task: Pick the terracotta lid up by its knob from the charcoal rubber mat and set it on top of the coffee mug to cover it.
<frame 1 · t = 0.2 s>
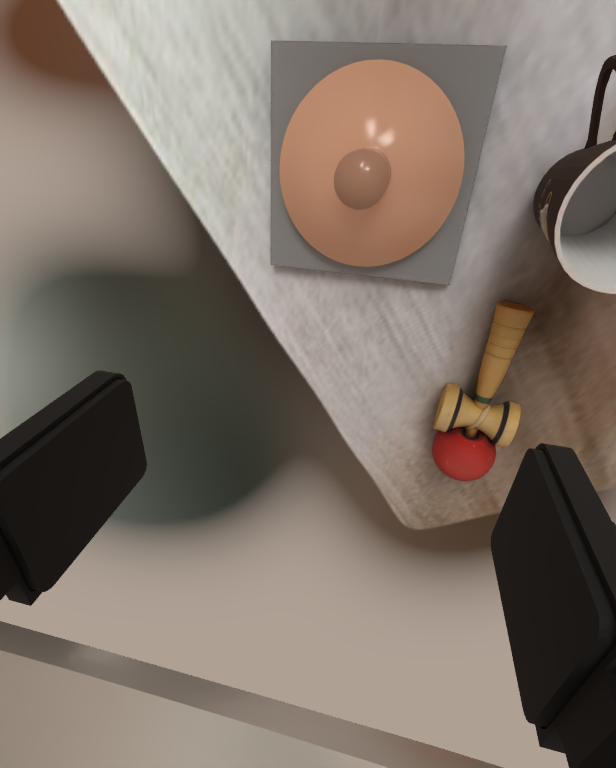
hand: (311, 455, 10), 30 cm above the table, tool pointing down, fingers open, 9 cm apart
mat: (369, 173, 33), on the table
lid: (368, 174, 32), point 1 cm above the table, touching mat
kendama: (477, 383, 41), on the table
coffee mug: (588, 173, 30), on the table
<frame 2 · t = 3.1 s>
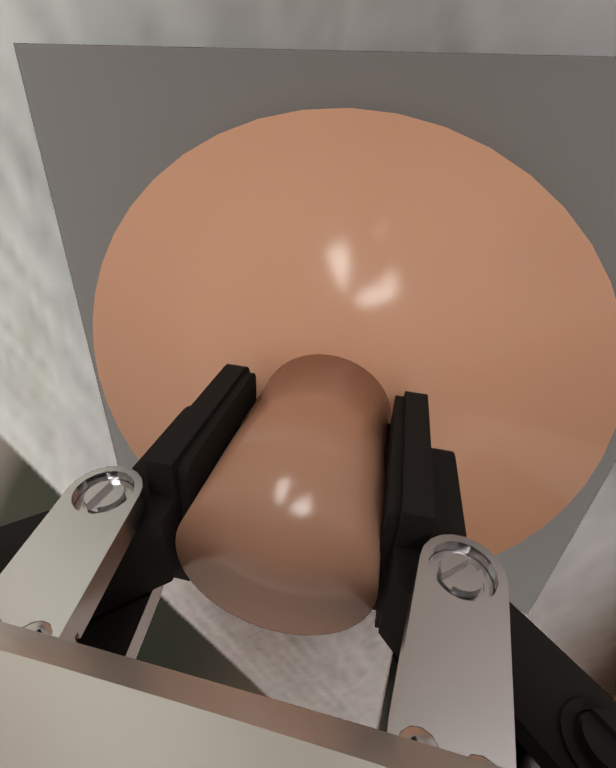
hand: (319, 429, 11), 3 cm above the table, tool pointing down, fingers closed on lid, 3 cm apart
mat: (335, 378, 13), on the table
lid: (331, 394, 12), point 1 cm above the table, touching gripper, mat
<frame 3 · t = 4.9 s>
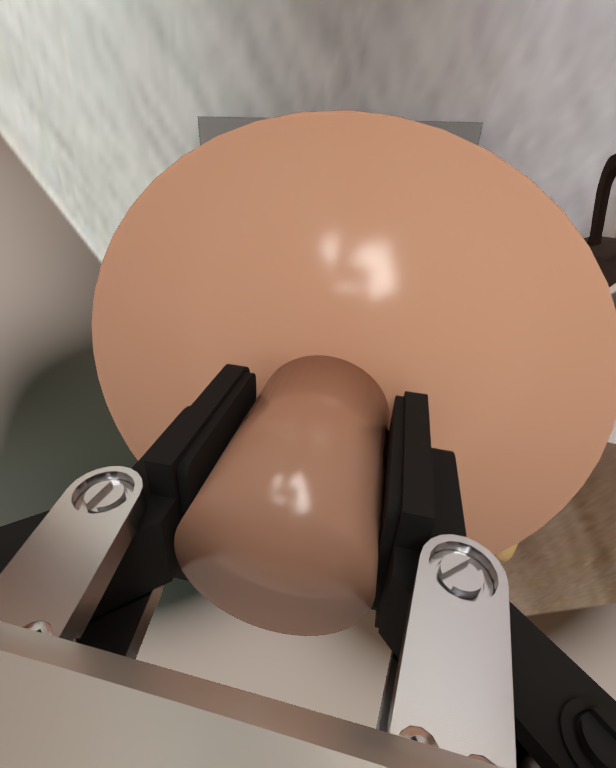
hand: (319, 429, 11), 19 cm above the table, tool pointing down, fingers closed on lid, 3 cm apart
mat: (327, 261, 27), on the table
lid: (329, 395, 12), point 17 cm above the table, touching gripper
coffee mug: (591, 265, 24), on the table
when the fingers open (13 cm above the table, at t = 7.0 s): lid drops 1 cm, resting on coffee mug.
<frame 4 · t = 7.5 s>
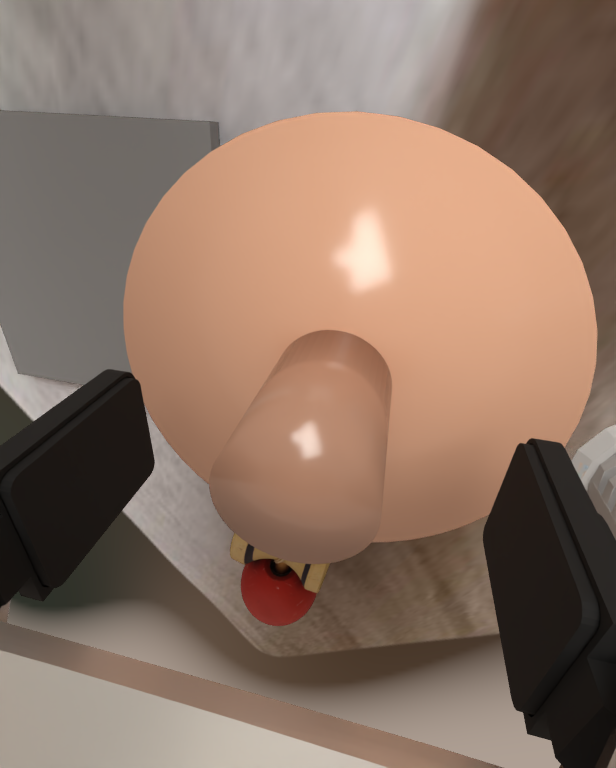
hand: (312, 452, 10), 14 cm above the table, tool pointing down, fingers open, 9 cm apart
mat: (103, 271, 25), on the table
lid: (337, 369, 13), point 10 cm above the table, touching coffee mug
kendama: (298, 497, 31), on the table
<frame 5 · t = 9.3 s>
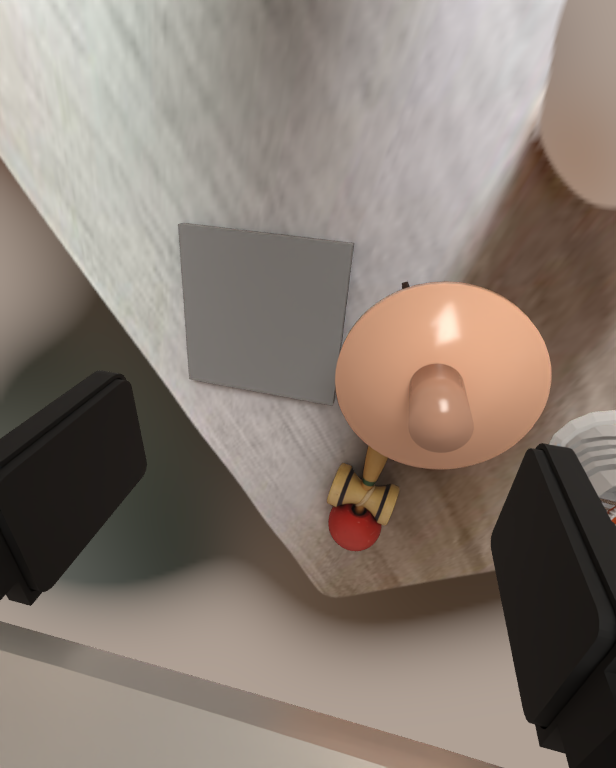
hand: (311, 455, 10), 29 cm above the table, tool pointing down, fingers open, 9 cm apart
french press: (612, 450, 39), on the table
mat: (263, 317, 40), on the table
lid: (435, 380, 29), point 10 cm above the table, touching coffee mug
kendama: (369, 464, 46), on the table
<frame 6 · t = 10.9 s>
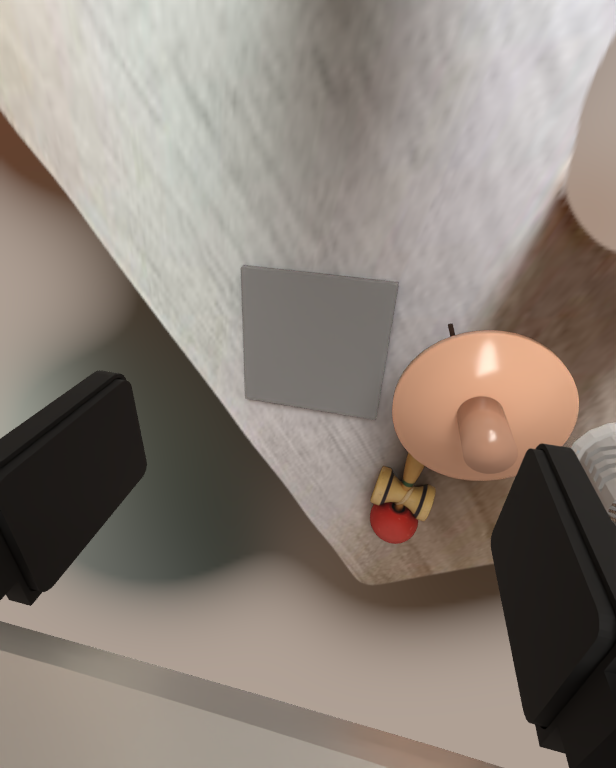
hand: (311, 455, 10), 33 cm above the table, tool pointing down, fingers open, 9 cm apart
mat: (314, 344, 45), on the table
lid: (478, 408, 34), point 10 cm above the table, touching coffee mug
kendama: (407, 466, 52), on the table
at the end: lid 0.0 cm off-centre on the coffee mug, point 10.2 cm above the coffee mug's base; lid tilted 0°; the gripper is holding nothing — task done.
